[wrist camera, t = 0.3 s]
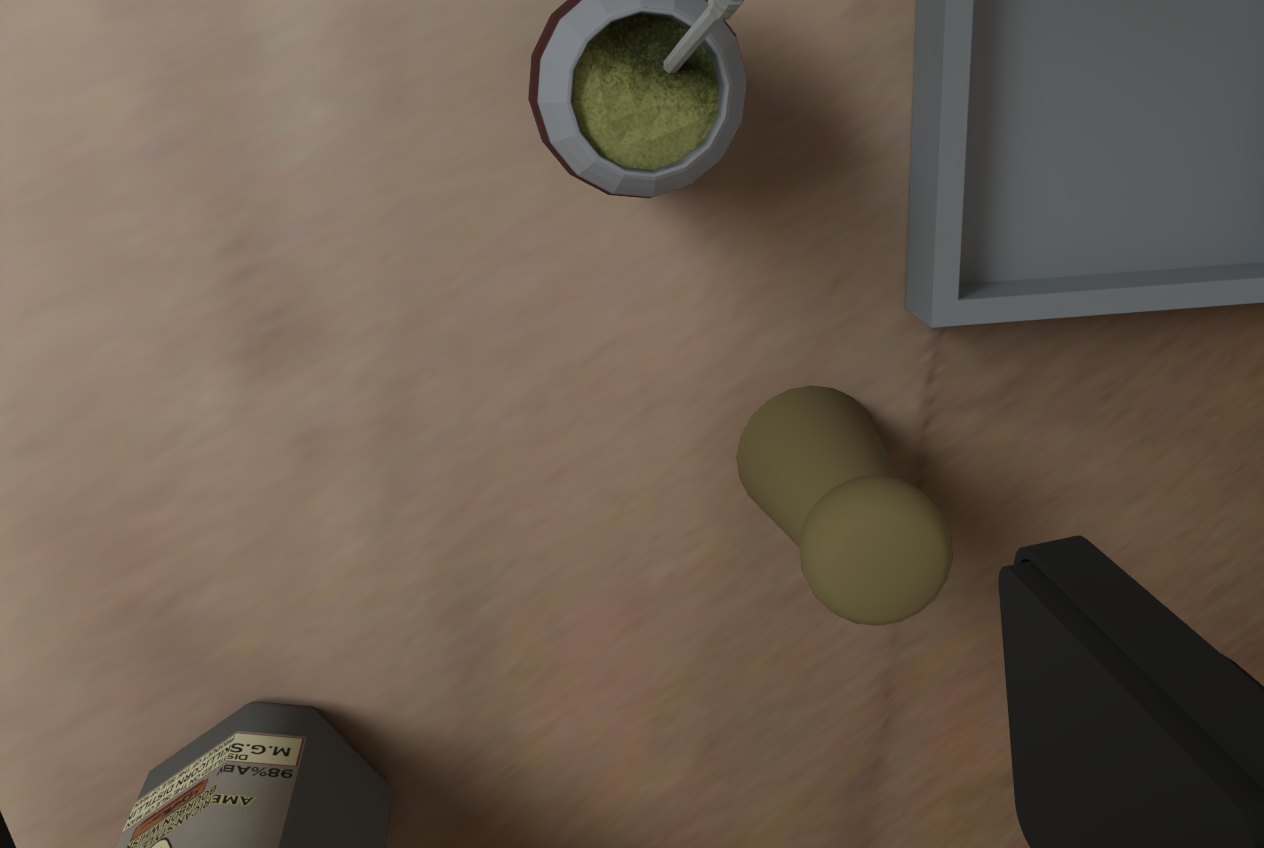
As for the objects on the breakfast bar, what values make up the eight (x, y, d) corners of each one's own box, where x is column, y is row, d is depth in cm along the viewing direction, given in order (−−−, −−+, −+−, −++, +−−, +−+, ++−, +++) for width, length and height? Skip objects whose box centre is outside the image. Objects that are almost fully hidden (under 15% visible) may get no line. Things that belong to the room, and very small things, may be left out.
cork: (899, 407, 49) (1008, 515, 38) (846, 534, 50) (937, 670, 40) (765, 368, 47) (841, 469, 37) (716, 500, 49) (776, 631, 39)
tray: (920, -127, 42) (951, -136, 39) (1339, -143, 43) (1398, -153, 40) (905, 308, 47) (931, 327, 44) (1277, 281, 49) (1325, 297, 46)
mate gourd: (559, 199, 44) (591, 288, 30) (491, -14, 41) (491, -25, 27) (746, 139, 44) (865, 200, 30) (691, -78, 41) (793, -122, 27)
